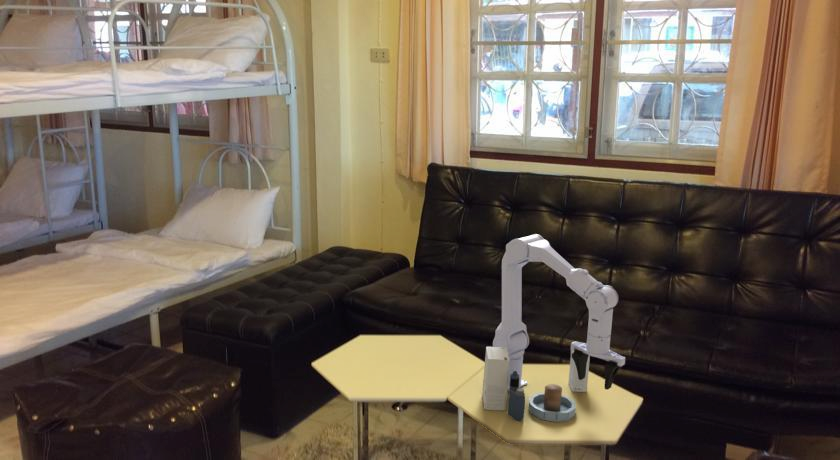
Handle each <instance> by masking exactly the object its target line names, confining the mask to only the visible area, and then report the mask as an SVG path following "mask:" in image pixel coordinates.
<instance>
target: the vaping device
mask: <svg viewBox="0 0 840 460" xmlns="http://www.w3.org/2000/svg"><path fill="white" fill-rule="evenodd" d="M510 378H511V380H510V388H509V390H508V401H507V405H508V406H507V415H508V416H509V417H510V418H511V419H513V420H514V421H516V422H521V421H523V420H524V417H525V409H526V408H525V407H526V406H525V405H526V395H525V389H524V388H523V387H520V388H519V374H517V371H513V374H511V375H510Z"/></svg>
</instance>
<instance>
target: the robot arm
mask: <svg viewBox="0 0 840 460" xmlns="http://www.w3.org/2000/svg"><path fill="white" fill-rule="evenodd" d="M529 262H531V263H532V262H533V263H534V262H542V263H544V264H545V265H546V266H548V267H549V268H551V269H552V270H553V271H554V272H555V273H556V272H557V273H558V274H559V275H561V277H563V278H565V281H566V286H567V287H569V288H570V289H571V290H572V291H573V292H575V294H577V296H579V297H581V298H582V299H583V300H584V301H585V304H586V307H587V309H588V324H587V325H588V326H587V337H586V343H585V342H580V341H576V340H575V341H572V342H571V343H570V351H571V350H573V351H574V353H572V358H573V360H574V362H575V365H576V368H577V372H578V378H579V380H582V379H584V378H585V375H586V365H587V360H588V356H589V355H590V357H593V358H594V357H595V358H598V359H601V360H602V361H603V360H604V361H606V362H607V363H605V364H604V365H603V367H604V376H605V377H604V390H609V389H611V388H612V387H613V383H614V380H615V378H616V376H617V374H618V372H619V370H620V369H621V368H622V367H623V366H625V365H626V357H625V356H623V355H620V354H618V353H617V352H614V351H613V350H612V349H610V348H611V347H610V346H611V335H612V326H613V325H612V324H613V313H614V307H616V306H617V304H618V302H619V294H618V292H617V291H616V289H614V288H613V286H612V285H607V284H606V285H604V284H603V283H602V282H601V281H598V280H597V279H595V278H594V277H593V276H592V275H591V274H589V271H588V269H586V268H585V269H584V268H580V267H579V268H575V267H574V266H573V265H572V264H570V263H569V262H568V261H567V260H566V259H565V258H563V256H561V255H560V254H559V253H558V252H557V251H556V250H555V249H554V248H553V247H552V246H551V244H550V242H549V241H548V240H547V239H544V237H543V236H542V235H540V234H537V233H534V234H531V235H528V236H523V237H520V238H514V239H512V240H510V241H509V242H508V243H507V244H506V245H505V252H504V254H503V257H502V259H501V322H500V323H499V325H498V326H497V328H496V329H495V334H494V338H493V340H492V347H502V348H507V352H508V357H509V360H510V363H509V374H508V385H507V391H509V388H510V380H511V378H510V375H511V374H513V371H517V374H519V388H523V387H524V386H525V385H528V383H529V382H528V381H527V380H524V379H522V378H523V377H522V375H523V362H524V361H523V360H524V354H525V350H526V349H527V348H528V346H529V344H530V337H529V334H528V331H527V325H526V324H525V323H524V322H523V321H522V313H523V312H522V311H523V310H522V301H523V300H522V298H523V297H522V293H523V292H522V290H523V288H522V287H523V286H522V284H523V283H522V282H523V281H522V278H523V277H522V275H523V273H522V272H523V271H522V270H523V269H522V268H523V267H524V266H525V265H527V264H528V263H529Z"/></svg>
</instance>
